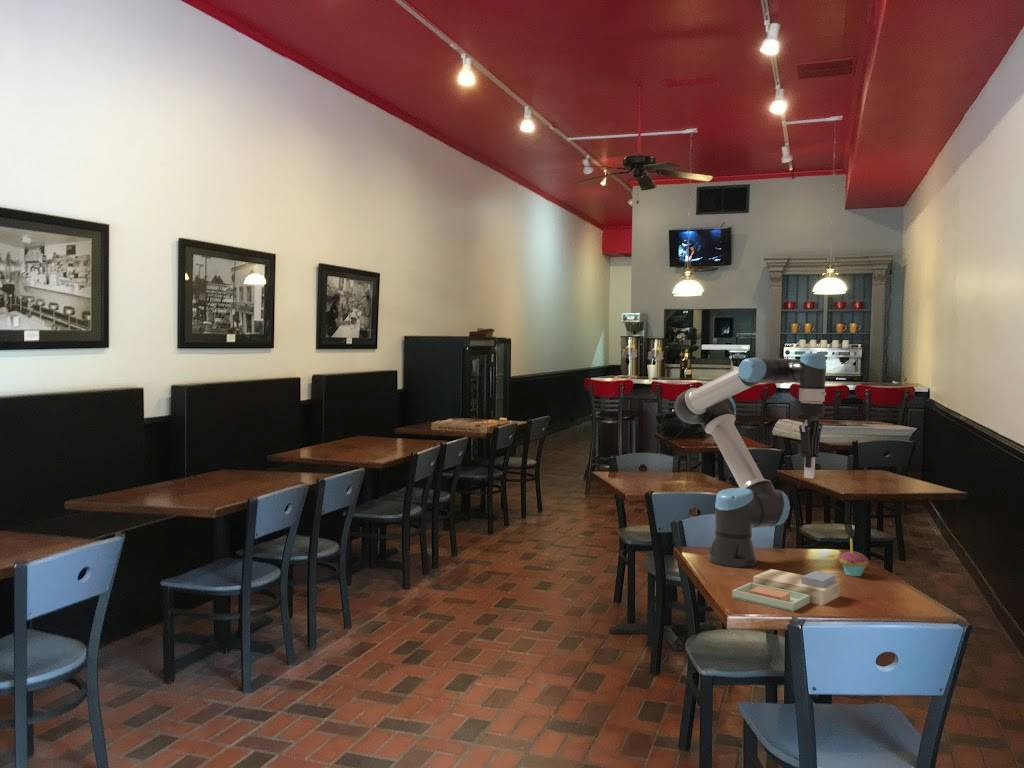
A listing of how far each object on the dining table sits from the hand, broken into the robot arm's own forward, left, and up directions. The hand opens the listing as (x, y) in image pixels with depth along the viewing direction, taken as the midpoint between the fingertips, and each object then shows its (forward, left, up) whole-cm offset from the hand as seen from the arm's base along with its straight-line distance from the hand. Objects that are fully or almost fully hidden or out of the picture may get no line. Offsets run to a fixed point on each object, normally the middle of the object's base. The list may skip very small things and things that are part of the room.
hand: (809, 477), depth 258 cm
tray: (+6, -39, -29) cm, 49 cm away
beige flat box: (+8, -27, -29) cm, 41 cm away
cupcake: (+12, +7, -30) cm, 33 cm away
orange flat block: (+6, -40, -28) cm, 49 cm away
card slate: (+14, -26, -24) cm, 38 cm away
